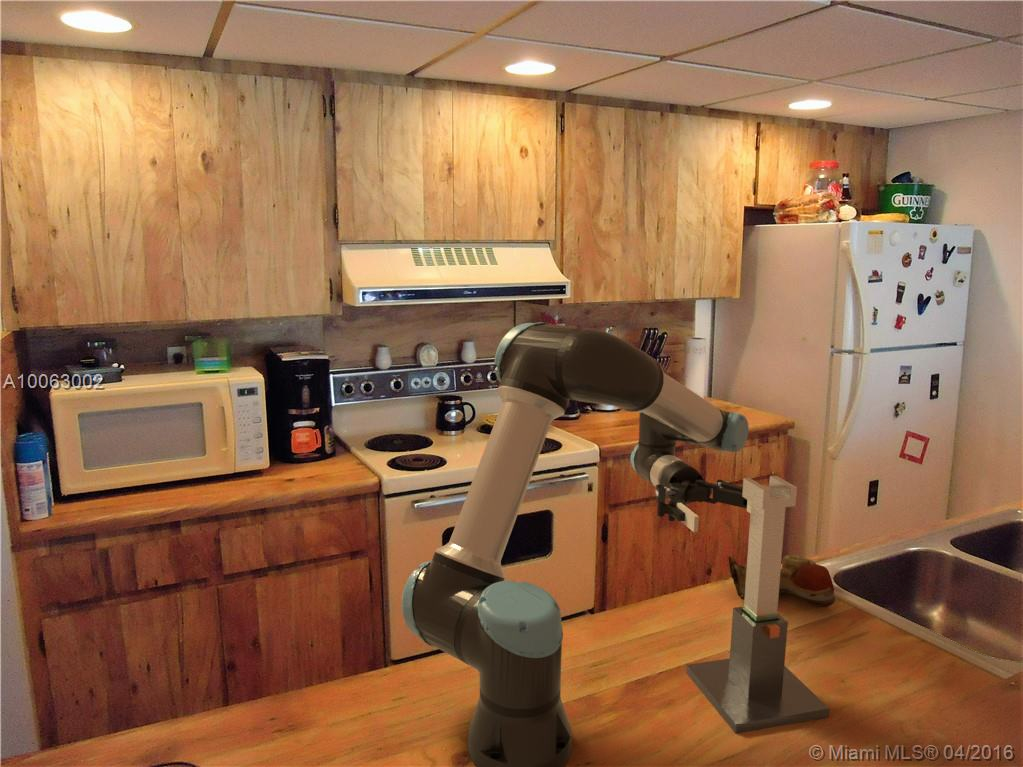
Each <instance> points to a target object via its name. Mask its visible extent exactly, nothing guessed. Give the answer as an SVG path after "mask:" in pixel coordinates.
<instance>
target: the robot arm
mask: <svg viewBox="0 0 1023 767" xmlns="http://www.w3.org/2000/svg"><path fill="white" fill-rule="evenodd" d="M494 365H496V367H495V368H494V372H495V376H496V378H497V380H498V382H499V385H498V387H497V392H498V394H499V396H500V399H501V402H502V403H501V406H500V408H499V410H498V414H497V416H496V419H495V420H494V424H493V427H492V429H491V432H490V435H489V437H488V440H487V443H486V444H485V447H484V450H483V453H482V455H481V458H480V460H479V462H478V465H477V469H476V471H475V474H474V476H473V479H472V482H471V484H470V486H469V489H468V492H467V495H466V497H465V500H464V502H463V505H462V508H461V510H460V513H459V515H458V519H457V521H456V523H455V526H454V529H453V532H452V534H451V536H450V539H449V541H448V542H447V543H446V544H445V545H442V546H440V547H438V548H436V549H435V551H434V554H433V556H432V559H431V560H428V561H424V562H422V563H421V564H420V565H418V568H417V569H414V570H413V571H411V574H410V575H409V576H408V578H407V580H406V583H405V584H404V588H403V591H402V597H401V613H402V617H403V618H404V621H405V625H406V626H407V628H408V629H409V631H410V632H411V633H412V634H413V635H415V636H416V637H418V638H419V639H421V641H423V642H424V643H425V644H426V645H427V646H430V647H434V648H437V649H438V650H440V651H442V652H444V653H446V654H447V655H449V656H451V657H453V658H455V659H457V660H459V661H460V662H462V663H464V664H466V665H468V666H470V667H471V668H474V669H475V670H477V672H478V674H479V696H478V697H479V698H478V701H477V702H476V706H475V709H474V712H473V715H472V718H471V721H470V723H469V726H468V731H467V750H468V751H467V752H468V755H469V757H470V759H471V761H472V762H473V764H475V766H476V767H564V766H565V765H566V764H567V763H568V762H569V759H570V757H571V755H572V751H573V750H572V749H573V748H572V747H573V746H572V745H573V733H572V727H571V723H570V721H569V717H568V715H567V712H566V710H565V707H564V704H563V701H562V697H561V690H562V689H561V688H562V687H561V684H562V653H563V652H562V650H563V648H562V647H563V645H562V644H563V640H564V639H563V636H564V632H563V625H562V613H561V608H560V605H559V603H558V601H557V600H556V599H555V597H554V596H553V595H552V594H550V592H548V591H547V590H545V589H544V588H542V587H540V586H539V585H537V584H534V583H530V582H526V581H524V580H523V581H521V582H516V581H515V580H505V579H506V573H505V572H504V570H503V566H502V563H501V562H502V558H503V556H504V552H505V550H506V547H507V545H508V543H509V539H510V536H511V534H512V531H513V529H514V526H515V523H516V520H517V517H518V515H519V512H520V509H521V507H522V504H523V500H524V498H525V496H526V493H527V490H528V487H529V484H530V481H531V479H532V476H533V473H534V470H535V467H536V465H537V463H538V460H539V457H540V454H541V452H542V449H543V446H544V443H545V440H546V438H547V435H548V432H549V429H550V427H551V425H552V422H553V421H554V420H555V419H558V418H560V417H562V416H564V415H565V412H566V410H567V407H568V405H569V402H570V400H571V401H576V402H584V403H591V404H599V405H607V406H613V407H616V408H620V409H622V410H623V411H626V412H629V413H638V414H639V416H638V417H639V420H638V421H639V423H638V444H636V445H635V446H634V448H633V450H632V451H631V454H630V459H629V460H630V464H631V467H632V469H633V470H634V471H635V472H636V473H637V474H638V476H639V477H640V478H642V479H643V480H645V481H647V482H648V483H650V484H651V485H652V486H653V487H655V499H656V501H657V508H656V509H657V510H656V515H657V517H664V516H665V515H667V521H669V522H675V521H678V522H681V523H682V524H683V525H684V526H685V527H687V528H688V529H689V530H691V531H692V532H693V533H698V532H699V519H700V516H699V515H698V514H696V513H695V512H694V511H692V510H691V509H690V508H688V506H687V505H688V504H691V503H695V502H697V503H703V502H704V503H709V504H713V505H715V504H717V503H719V504H725V505H729V506H734V507H738V508H742V509H746V512H748V513H750V514H751V502H750V501H748V500H747V499H745V498H744V497H742V494H743V486H740V485H736V484H732V483H729V482H727V481H726V480H725V481H724V479H723V480H722V479H716V483H712V482H708V481H706V480H704V478H703V476H702V474H701V473H700V472H699V471H698V470H697V469H696V468H694V467H693V466H692V465H690V464H688V463H687V462H686V461H684V460H683V459H681V458H680V457H677V455H676V445H677V442H681V443H686V444H691V445H694V446H695V445H696V446H701V447H704V448H708V449H709V448H710V449H714V450H718V451H721V452H729V453H738V452H740V451H742V450H743V448H744V447H745V445H746V443H747V439H748V436H749V431H750V430H749V422H748V419H747V417H746V416H745V415H743V414H740V413H736V412H734V411H731V410H730V411H726V410H724V409H723V410H722V409H721V408H719V407H717V406H716V405H714V404H712V403H711V402H709V401H708V400H707V399H706V398H704V397H702V396H700V395H699V394H697V393H696V392H694V391H692V390H691V389H690V388H688V387H687V386H685V385H684V384H682V383H681V382H679V381H677V380H676V379H674V378H673V377H671V376H670V375H668V374H667V373H665V372H664V369H663V367H662V365H661V364H660V363H659V362H658V361H657V360H656V359H655V358H654V357H653V356H651V355H649V354H648V353H647V352H645V351H643V350H642V349H640V348H638V347H637V346H635V345H633V344H632V343H630V342H628V341H625V340H624V339H621V337H618V336H617V335H614V334H612V333H609V332H607V331H604V330H600V329H598V328H597V329H596V328H589V327H588V328H587V327H585V328H583V327H578V326H569V325H560V324H551V323H549V322H545V321H544V322H543V321H542V322H541V321H540V322H525V323H522V324H519V325H515V326H514V327H513V328H511V329H510V330H509V331H508V332H507V333H506V334H505V335H504V336H503V338H502V339H501V341H500V342H499V344H498V346H497V349H496V352H495V355H494ZM711 495H712V498H711ZM667 498H668V499H669V501H668V503H666V501H667Z"/></svg>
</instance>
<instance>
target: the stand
mask: <svg viewBox="0 0 1023 767" xmlns="http://www.w3.org/2000/svg"><path fill="white" fill-rule="evenodd" d="M788 625H789V621H788V620H787V619H785V618H784V617H782V616H781V614H779V613H778V619H777V621H770V622H762V623H754V622H753V621H752V620H751V619H750V618H749V617H748V616H747V615H745V614H744V611H743V606H738V607H737V606H736V607H732V620H731V633H730V648H729V658H724V659H717V660H716V659H715V660H710V661H703V662H697V663H689V664H686V669H685V673H686V674H687V676H688V677H689V679H690V680H691V681H692V682H693V683H694V684H695V685H696V687H697V688H698V689H699V690H700V692H701V693H702V694H703V695H704V696H705V698H706V699H707V700H708V702H709V703H710V704H711V705H712V707H713V708H714V709H715V711H717V712H718V714H719V715H720V716H721V717H722V718H723V720H724V721H725V722H726V724H727V725H728V726H729V728H730V729H731V730H732V731H733V732H734V733H735V734H739V733H745V732H750V731H757V730H763V729H768V728H773V727H774V728H775V727H779V726H785V725H791V724H796V723H802V722H809V721H815V720H818V719H825V718H829V717H830V707H829V706H828V705H827V704H825V703H824V702H823V700H822V699H820V697H818V696H817V695H816V693H814V692H813V691H812V690H811V689H810V688H809V687H808V686H807V685H806V684H805V683H803V681H801V680H800V679H799V678H798V677H797V676H796V675H795V674H794V673H793V672H792V671H791V670H790V669H789V668H788V667H786V665H785V664H786V663H785V661H786V650H787V647H786V646H787V639H788V638H787V637H788Z"/></svg>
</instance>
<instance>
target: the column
mask: <svg viewBox="0 0 1023 767" xmlns="http://www.w3.org/2000/svg"><path fill="white" fill-rule="evenodd" d="M742 487H743V494H742V497H744V498H745V499H747V500H748V501H750V502H751V514H750V516H749V518H750V519H749V528H748V529H749V530H748V545H747V558H746V559H747V560H746V565H747V571H746V585H745V598H744V600H743V603H744V604H742V607H743V611H744V614H745V615H747V616H748V617H749V618H750V619H751V620H752V621H753V622H754V623H762V622H770V621H777V619H778V614H779V613H778V609H779V608H778V606H779V594H780V592H779V583H780V571H781V569H782V559H783V557H782V556H783V555H782V554H783V547H784V546H783V543H784V533H785V532H784V530H785V522H786V520H785V518H786V508H790V507H796V504H797V503H796V502H797V492H798V486H796V485H794V484H792V483H790V482H789V481H787V480H785V479H783V478H782V477H779V476H777V475H770V476H769V484H768V485H762V484H761V483H759V482H757V481H756V480H754V479H753V478H751V477H745V478H744V477H743V479H742Z"/></svg>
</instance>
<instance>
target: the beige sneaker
mask: <svg viewBox="0 0 1023 767" xmlns="http://www.w3.org/2000/svg"><path fill="white" fill-rule="evenodd" d="M728 562H729V565H728V566H729V572H730V575H731V579H732V580H733V584H734V586H735V587H734V588H735V589H736V590H735V591H736V592H737V595H738V596H739V598H744V599H745V585H746V571H747V563H746V564H745V563H744V564H739V563H738V562H737V560H736V559H735V557H734V556H733V555H730V556H728ZM779 593H786V594H792V595H794V596H796V597H798V598H800V599H803V600H804V601H805V602H806V603H808V604H810V605H812V606H814V607H820V608H828V607H830V606H832V605H833V604H834V603H835V601H836V597H835V587H834V584H833V579H832V577H831V575H830V571H829V570H828V568H827V567H826V566H824V565H822V564H817V562H815V561H814V560H811V559H809V558H806V557H802V556H801V555H800V553H795V554H793V555H788V554H787V555H784V556H783V557H782V559H781V571H780V583H779Z"/></svg>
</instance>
